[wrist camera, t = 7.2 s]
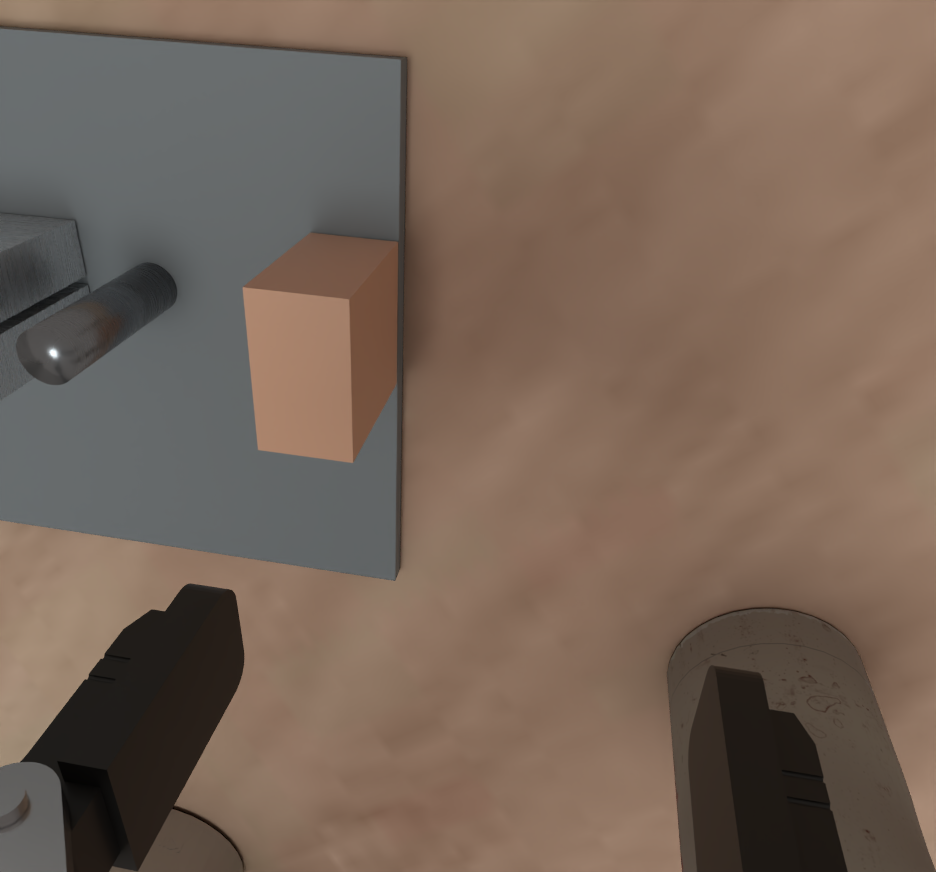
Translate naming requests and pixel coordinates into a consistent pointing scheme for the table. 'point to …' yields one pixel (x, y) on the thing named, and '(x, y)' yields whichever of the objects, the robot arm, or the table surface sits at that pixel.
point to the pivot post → (95, 324)
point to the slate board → (198, 285)
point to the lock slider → (323, 344)
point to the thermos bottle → (807, 728)
